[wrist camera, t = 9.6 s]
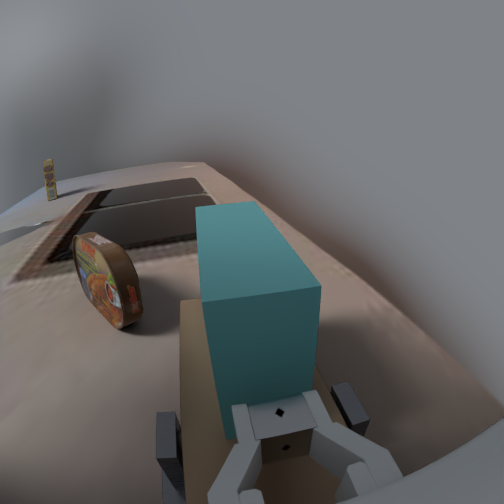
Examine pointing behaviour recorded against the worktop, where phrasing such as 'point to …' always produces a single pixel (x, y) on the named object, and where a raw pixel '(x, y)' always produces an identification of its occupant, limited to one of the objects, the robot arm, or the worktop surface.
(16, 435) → the worktop surface
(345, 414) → the beam stand
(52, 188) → the candy box
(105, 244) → the tin
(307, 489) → the beam
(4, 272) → the worktop surface
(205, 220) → the block
